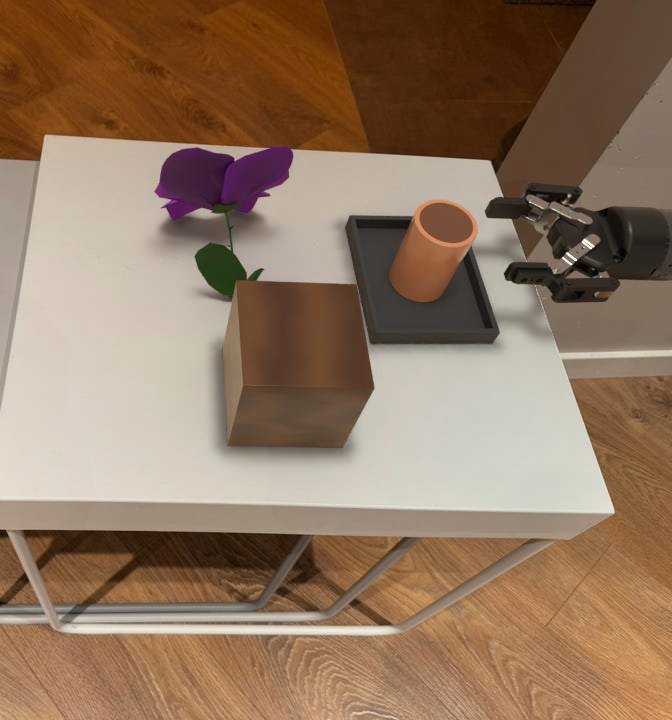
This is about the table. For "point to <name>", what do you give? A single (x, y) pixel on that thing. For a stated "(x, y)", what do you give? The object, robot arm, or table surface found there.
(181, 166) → the flower
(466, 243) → the cup
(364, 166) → the table surface
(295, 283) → the block
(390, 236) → the tray
